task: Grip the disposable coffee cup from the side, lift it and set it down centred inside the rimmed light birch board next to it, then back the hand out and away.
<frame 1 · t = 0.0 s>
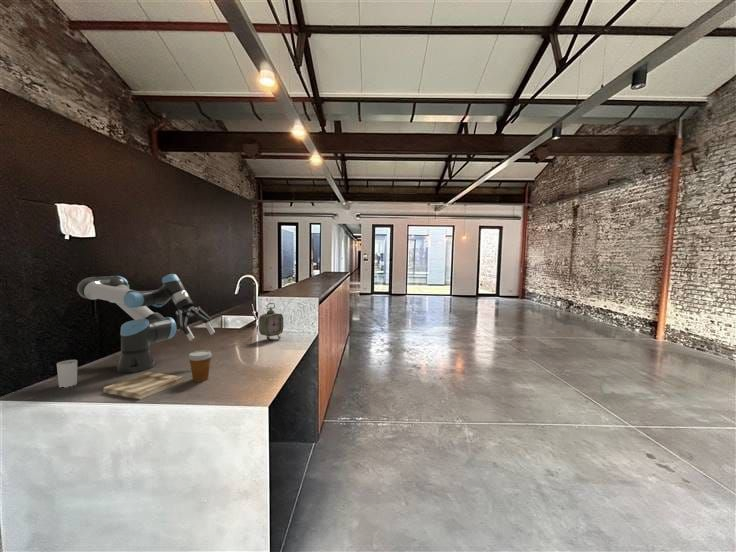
hand: (202, 336, 172), 15 cm above the counter, tool tilted 35°, fingers open, 13 cm apart
tabletop clock: (270, 340, 228), on the counter
disposable coffee cup: (200, 379, 154), on the counter
birch board: (145, 386, 144), on the counter
drinking glass: (68, 385, 146), on the counter
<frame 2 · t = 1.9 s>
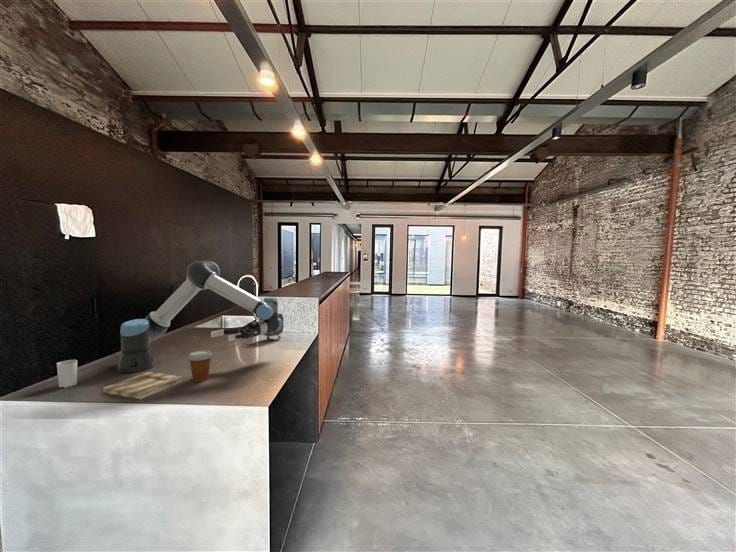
hand: (219, 336, 161), 18 cm above the counter, tool horizontal, fingers open, 13 cm apart
nothing on the counter moved.
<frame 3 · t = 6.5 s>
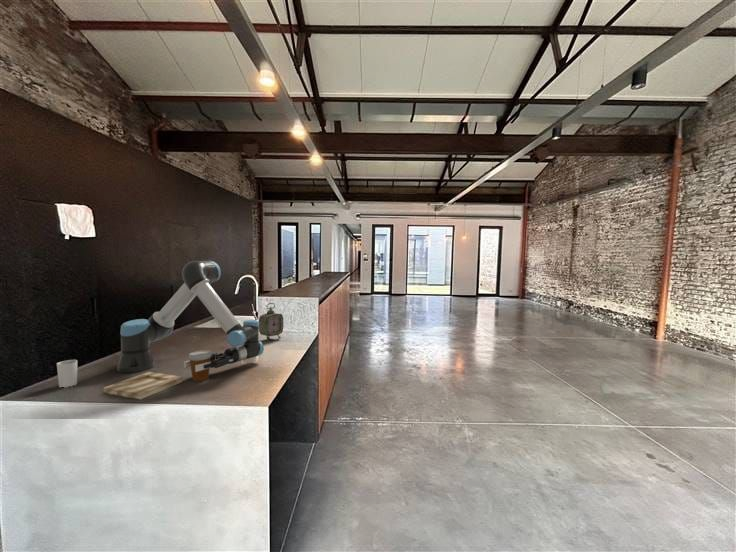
hand: (190, 366, 149), 7 cm above the counter, tool horizontal, fingers closed on disposable coffee cup, 8 cm apart
disposable coffee cup: (200, 379, 154), on the counter, touching gripper
everything else where it was.
when the fingers open (9 cm above the counter, at t = 12.1 s): disposable coffee cup drops 1 cm, resting on birch board.
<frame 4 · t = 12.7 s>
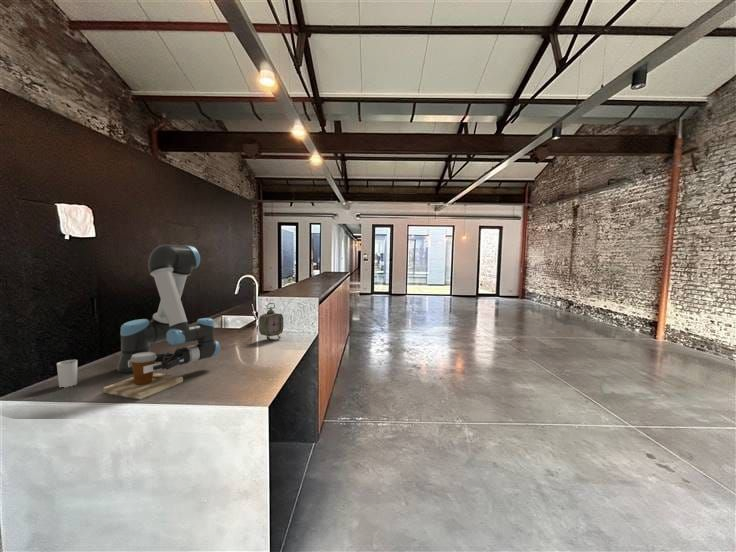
hand: (135, 367, 141), 9 cm above the counter, tool horizontal, fingers open, 13 cm apart
disposable coffee cup: (143, 382, 146), point 1 cm above the counter, touching birch board, gripper
everything else where it was.
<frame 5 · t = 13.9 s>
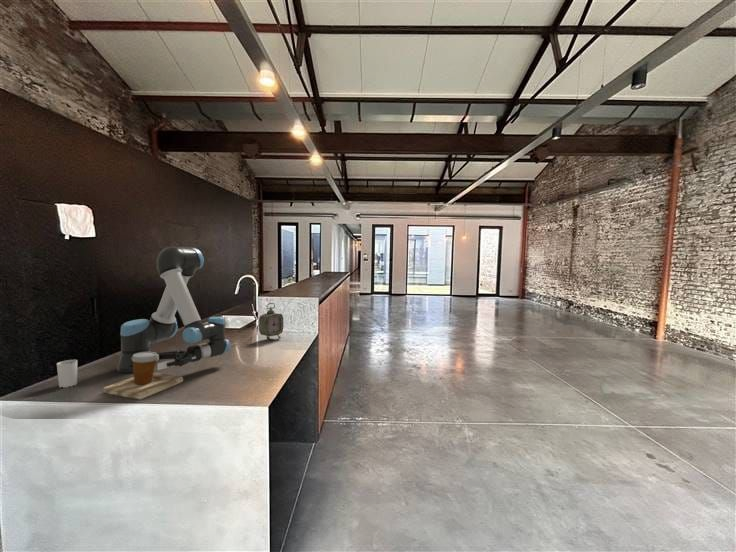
hand: (149, 363, 145), 10 cm above the counter, tool horizontal, fingers open, 13 cm apart
disposable coffee cup: (143, 382, 146), point 1 cm above the counter, touching birch board
everything else where it was.
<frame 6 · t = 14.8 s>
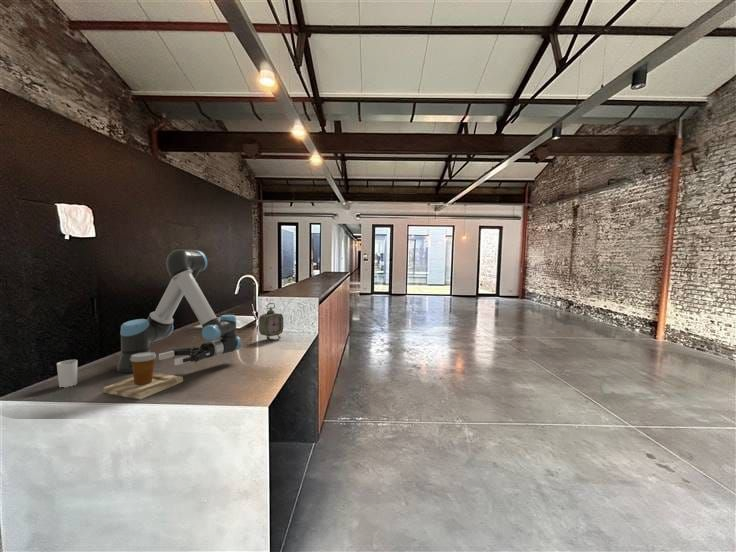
hand: (166, 359, 151), 10 cm above the counter, tool horizontal, fingers open, 13 cm apart
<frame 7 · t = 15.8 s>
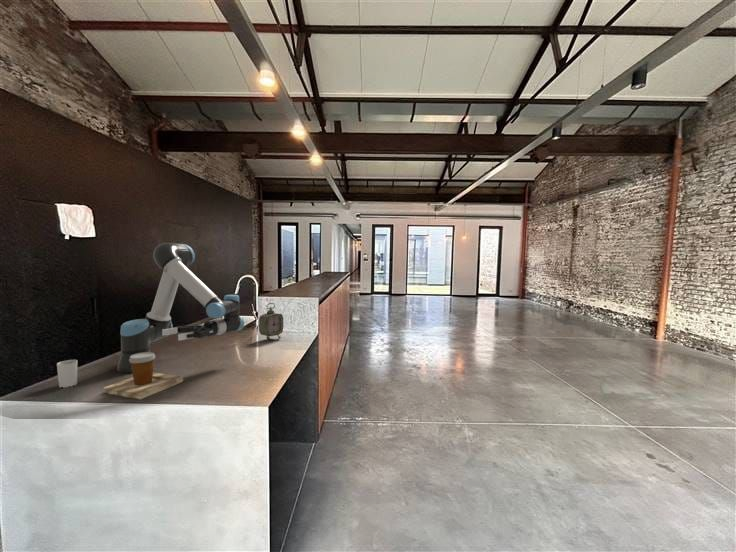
hand: (170, 334, 151), 20 cm above the counter, tool horizontal, fingers open, 13 cm apart
nothing on the counter moved.
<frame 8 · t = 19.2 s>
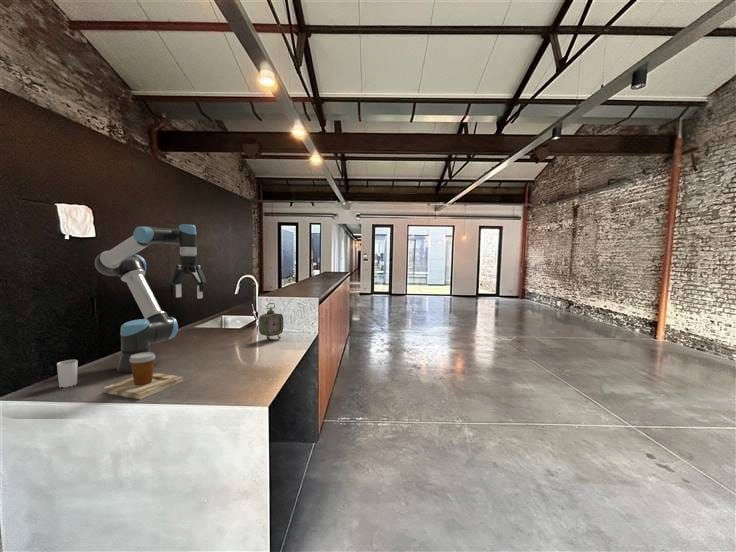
hand: (189, 297, 171), 35 cm above the counter, tool pointing down, fingers open, 13 cm apart
nothing on the counter moved.
at the end: disposable coffee cup 2.5 cm off-centre on the birch board, point 1.0 cm above the birch board's base; disposable coffee cup tilted 0°; the gripper is holding nothing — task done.
